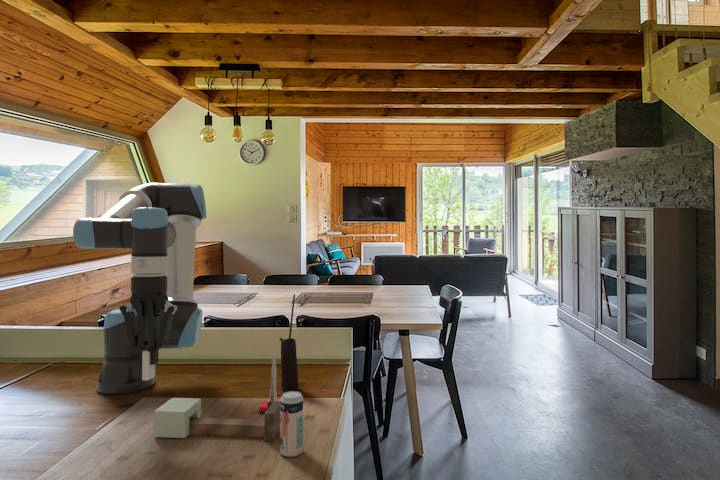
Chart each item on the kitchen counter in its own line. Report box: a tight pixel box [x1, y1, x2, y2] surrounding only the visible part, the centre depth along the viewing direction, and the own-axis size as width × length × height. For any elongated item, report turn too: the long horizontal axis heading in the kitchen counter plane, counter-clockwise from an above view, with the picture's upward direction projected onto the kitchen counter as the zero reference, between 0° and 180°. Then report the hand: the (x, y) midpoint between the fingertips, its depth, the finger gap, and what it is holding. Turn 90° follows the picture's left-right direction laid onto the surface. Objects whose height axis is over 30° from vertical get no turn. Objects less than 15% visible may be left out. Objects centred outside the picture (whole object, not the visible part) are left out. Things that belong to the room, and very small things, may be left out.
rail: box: [189, 402, 280, 443], centre depth 98 cm, size 27×7×6 cm, turn 86°
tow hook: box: [258, 356, 282, 412], centre depth 113 cm, size 9×14×10 cm
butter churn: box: [279, 294, 300, 393], centre depth 126 cm, size 9×10×28 cm
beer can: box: [279, 390, 304, 458], centre depth 89 cm, size 5×5×12 cm
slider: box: [153, 397, 202, 439], centre depth 98 cm, size 7×8×6 cm
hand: (148, 378), depth 98 cm, fingers closed
